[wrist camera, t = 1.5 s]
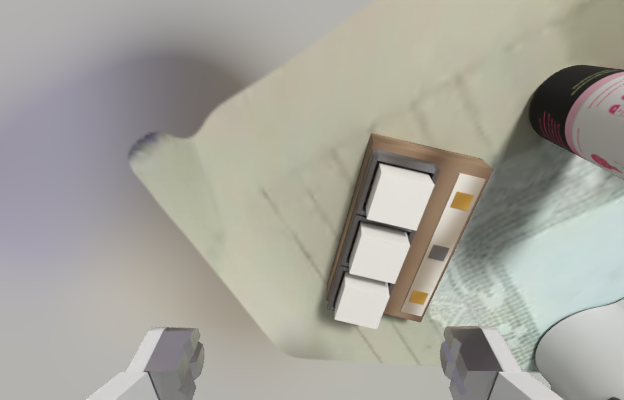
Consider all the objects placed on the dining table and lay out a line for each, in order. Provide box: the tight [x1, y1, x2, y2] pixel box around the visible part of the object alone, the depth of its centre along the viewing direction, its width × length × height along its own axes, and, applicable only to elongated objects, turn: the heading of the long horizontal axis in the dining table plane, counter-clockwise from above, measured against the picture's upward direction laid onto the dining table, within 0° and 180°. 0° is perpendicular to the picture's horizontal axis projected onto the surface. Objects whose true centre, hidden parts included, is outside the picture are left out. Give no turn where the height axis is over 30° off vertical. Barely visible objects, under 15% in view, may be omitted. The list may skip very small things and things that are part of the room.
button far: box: [334, 271, 390, 329], centre depth 35 cm, size 4×4×2 cm
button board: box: [326, 134, 493, 322], centre depth 35 cm, size 11×19×5 cm, turn 168°
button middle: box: [349, 221, 410, 284], centre depth 32 cm, size 4×4×2 cm
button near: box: [366, 163, 435, 231], centre depth 30 cm, size 4×4×2 cm
